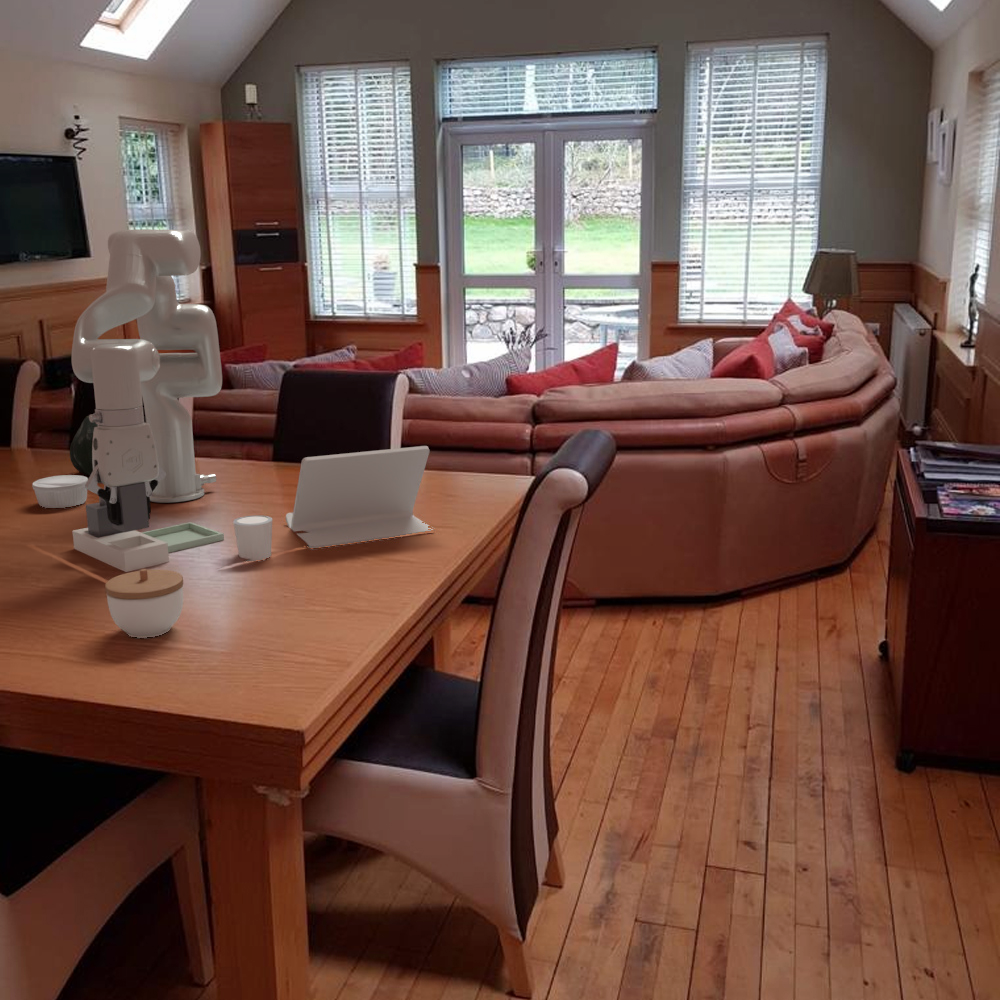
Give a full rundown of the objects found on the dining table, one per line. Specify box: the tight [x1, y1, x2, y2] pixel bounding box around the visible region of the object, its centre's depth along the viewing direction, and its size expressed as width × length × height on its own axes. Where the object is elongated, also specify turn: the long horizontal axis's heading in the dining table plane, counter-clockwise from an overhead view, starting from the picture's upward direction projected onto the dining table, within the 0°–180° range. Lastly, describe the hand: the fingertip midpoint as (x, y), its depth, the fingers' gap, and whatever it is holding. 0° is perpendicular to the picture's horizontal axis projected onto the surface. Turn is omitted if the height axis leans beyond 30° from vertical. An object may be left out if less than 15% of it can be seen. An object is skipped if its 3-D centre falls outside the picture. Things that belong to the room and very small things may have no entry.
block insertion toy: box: [72, 496, 170, 573], centre depth 186 cm, size 8×20×11 cm, turn 46°
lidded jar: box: [104, 568, 184, 639], centre depth 151 cm, size 11×11×9 cm
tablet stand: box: [285, 445, 433, 549], centre depth 203 cm, size 18×25×17 cm
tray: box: [141, 521, 225, 554], centre depth 196 cm, size 12×12×2 cm
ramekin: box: [32, 474, 89, 509], centre depth 226 cm, size 11×11×5 cm
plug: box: [112, 482, 150, 532], centre depth 181 cm, size 4×4×10 cm
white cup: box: [232, 514, 273, 562], centre depth 187 cm, size 7×7×7 cm
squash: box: [69, 415, 98, 477], centre depth 254 cm, size 14×15×15 cm
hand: (130, 520), depth 182 cm, fingers closed on plug, 4 cm apart
